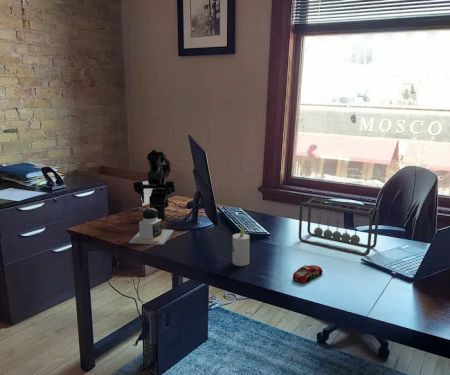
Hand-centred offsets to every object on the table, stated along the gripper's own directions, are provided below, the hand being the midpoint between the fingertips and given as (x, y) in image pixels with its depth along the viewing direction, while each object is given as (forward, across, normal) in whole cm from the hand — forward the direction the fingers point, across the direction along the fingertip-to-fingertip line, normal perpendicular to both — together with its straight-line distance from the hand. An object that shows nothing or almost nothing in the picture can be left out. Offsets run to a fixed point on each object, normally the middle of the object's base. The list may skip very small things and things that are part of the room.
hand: (153, 202), depth 182 cm
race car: (+45, +59, -25) cm, 78 cm away
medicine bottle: (+16, 0, +1) cm, 16 cm away
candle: (+36, +37, -16) cm, 54 cm away
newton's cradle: (+24, +78, -5) cm, 82 cm away
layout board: (+15, 0, +4) cm, 16 cm away
